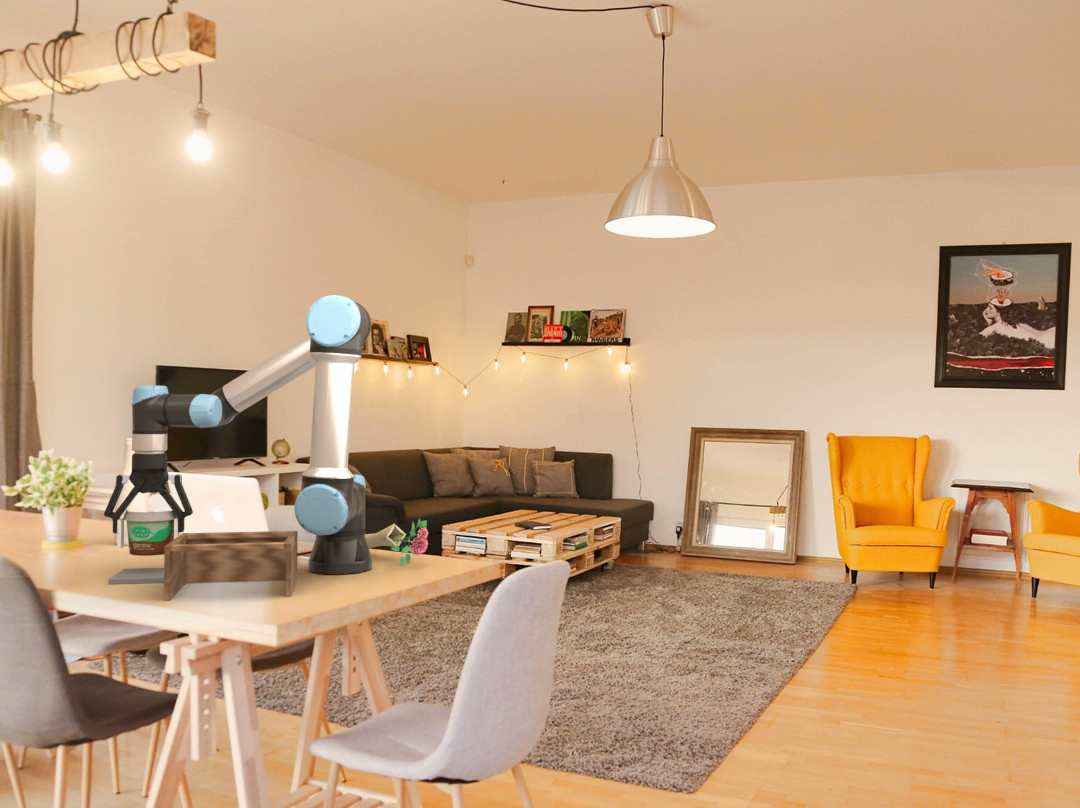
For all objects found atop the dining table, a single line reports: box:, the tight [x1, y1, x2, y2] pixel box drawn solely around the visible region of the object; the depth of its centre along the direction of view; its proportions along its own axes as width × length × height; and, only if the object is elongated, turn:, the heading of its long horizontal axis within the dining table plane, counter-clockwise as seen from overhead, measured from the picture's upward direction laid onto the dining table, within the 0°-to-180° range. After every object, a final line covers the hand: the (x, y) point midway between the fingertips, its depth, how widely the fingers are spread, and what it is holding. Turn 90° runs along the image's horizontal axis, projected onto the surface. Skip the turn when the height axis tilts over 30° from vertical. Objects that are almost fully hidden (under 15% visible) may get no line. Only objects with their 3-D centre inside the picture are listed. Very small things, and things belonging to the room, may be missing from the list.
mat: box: [107, 567, 164, 585], centre depth 215 cm, size 14×14×1 cm
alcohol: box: [114, 437, 150, 547], centre depth 266 cm, size 9×9×30 cm
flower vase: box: [365, 517, 429, 567], centre depth 240 cm, size 12×12×35 cm
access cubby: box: [163, 530, 298, 602], centre depth 203 cm, size 25×20×11 cm
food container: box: [124, 510, 178, 557], centre depth 215 cm, size 12×6×10 cm, turn 98°
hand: (148, 547), depth 215 cm, fingers closed on food container, 11 cm apart
